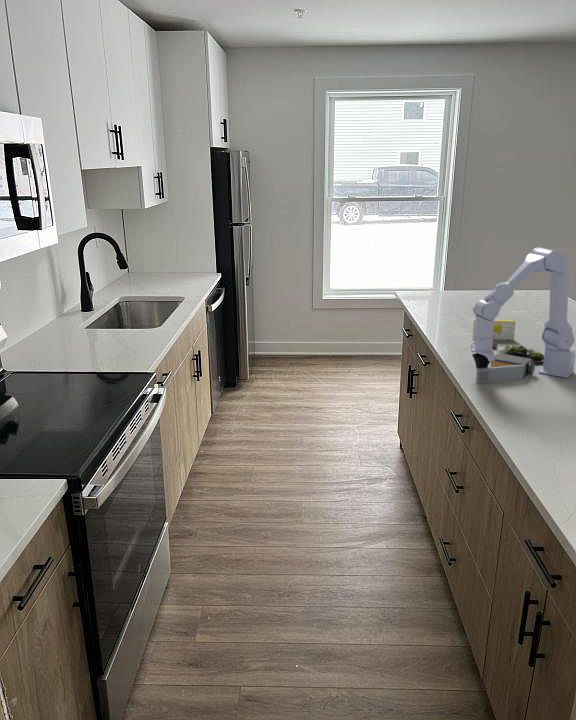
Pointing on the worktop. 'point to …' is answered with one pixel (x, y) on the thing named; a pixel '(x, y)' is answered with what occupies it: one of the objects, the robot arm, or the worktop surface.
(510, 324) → the candy box
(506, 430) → the worktop surface
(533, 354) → the salad plate
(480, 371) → the side door
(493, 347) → the video game controller
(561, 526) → the worktop surface
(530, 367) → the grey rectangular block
